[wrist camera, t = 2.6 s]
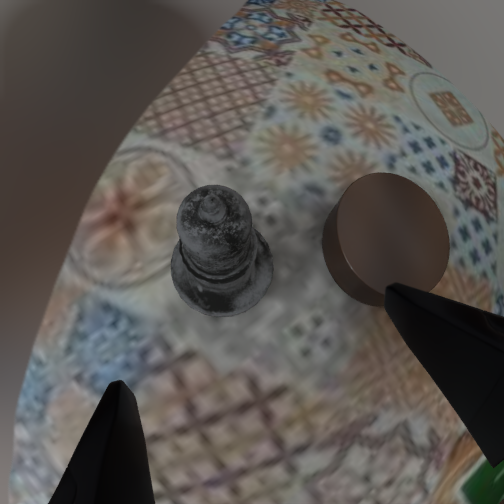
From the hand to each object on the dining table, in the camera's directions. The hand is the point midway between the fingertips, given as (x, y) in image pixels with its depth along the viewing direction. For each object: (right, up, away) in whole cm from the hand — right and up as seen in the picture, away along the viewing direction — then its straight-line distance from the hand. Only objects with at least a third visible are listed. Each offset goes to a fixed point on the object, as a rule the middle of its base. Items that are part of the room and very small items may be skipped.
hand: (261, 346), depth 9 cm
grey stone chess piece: (-2, +1, +12) cm, 12 cm away
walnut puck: (+9, +3, +13) cm, 16 cm away
